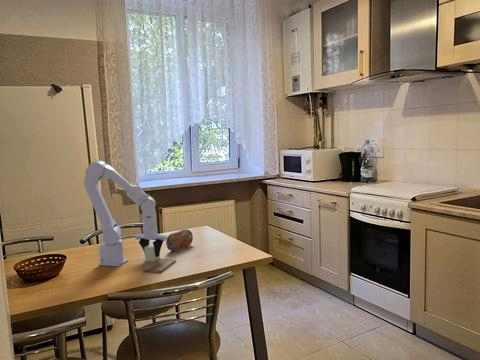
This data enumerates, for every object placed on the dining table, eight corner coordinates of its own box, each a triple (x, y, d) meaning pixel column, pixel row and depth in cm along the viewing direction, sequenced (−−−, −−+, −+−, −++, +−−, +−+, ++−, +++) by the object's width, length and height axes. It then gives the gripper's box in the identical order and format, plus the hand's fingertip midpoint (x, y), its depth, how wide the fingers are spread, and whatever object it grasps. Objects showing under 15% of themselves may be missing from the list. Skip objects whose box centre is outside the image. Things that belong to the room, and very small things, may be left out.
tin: (170, 253, 173) (169, 235, 172) (165, 252, 175) (164, 234, 174) (193, 244, 185) (192, 227, 184) (189, 243, 187) (187, 227, 186)
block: (145, 261, 165) (144, 247, 164) (151, 257, 170) (149, 244, 169) (154, 261, 164) (153, 247, 163) (160, 258, 168) (159, 244, 167)
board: (142, 273, 153) (142, 269, 153) (159, 261, 165) (158, 258, 165) (160, 274, 150) (160, 270, 150) (176, 262, 163) (175, 259, 163)
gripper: (169, 223, 166) (171, 253, 168) (140, 222, 171) (143, 251, 173) (161, 227, 159) (163, 259, 161) (131, 226, 164) (134, 257, 166)
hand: (152, 255), depth 166 cm, fingers closed on block, 4 cm apart
